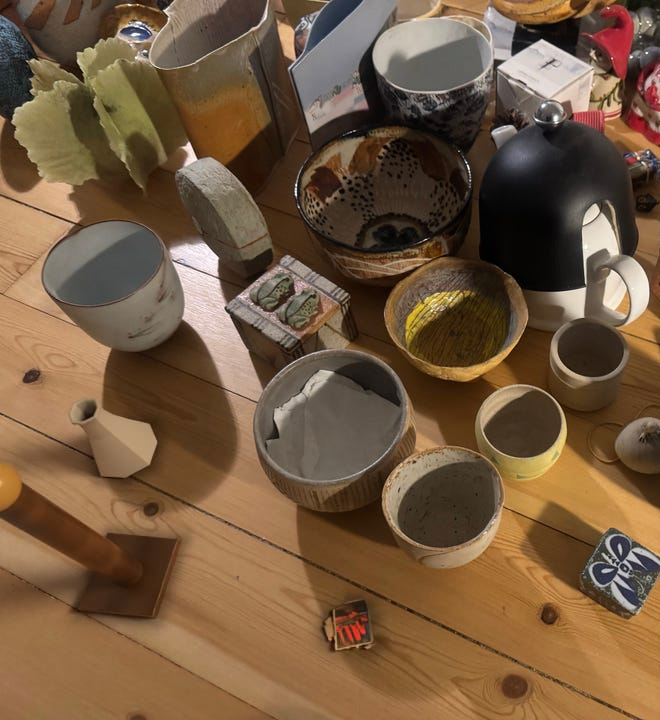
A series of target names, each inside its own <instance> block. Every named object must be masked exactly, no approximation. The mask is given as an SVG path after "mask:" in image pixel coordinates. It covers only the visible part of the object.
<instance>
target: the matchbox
mask: <svg viewBox="0 0 660 720" xmlns="http://www.w3.org/2000/svg"><path fill="white" fill-rule="evenodd" d="M370 611H371V610H370V609H369V606H368V604H367V602H366V600H365V598H359V599H354V600H349V601H347V602H344V603H342V604H341V605H339V606H337V607H336V608H334V609H332V616H329V617H328V618H327V619H326V620H325V621H324V623H325V625H323V627H324V630H325V633H326V637H327V638H328V641H330V642H331V641H332V640H333V639H334V649H335V651H341V650H344V649H345V650H346V649H348V650H349V649H350V648H356V649H359V647H360V646H362V645H365V646H364V649H366V650H368V649H371V648H372V647H374V646H375V645H377V643H376V642H374V643H373V641H374V635H373V632H372V631H373V628H372V623H371V622H372V618H371V612H370Z"/></svg>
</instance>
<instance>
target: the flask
mask: <svg viewBox="0 0 660 720" xmlns="http://www.w3.org/2000/svg"><path fill="white" fill-rule="evenodd" d="M67 415H68V417H69V420H70V422H71V424H72V425H75V426H79V427H80V428H81V429H82V430H83V431H84V433H85V434H86V436H87V438H88V440H89V443H90V447H91V451H92V456H93V458H94V462H95V463H96V466H97V469H98V471H99V474H100V477H109V478H123V479H125V478H127V477H130V476H131V475H133V474H135V473H138V472H139V471H141V470H143V469H144V468H146V467H148V466H150V465H151V462H152V459H153V456H154V454H155V450H156V447H157V445H158V440H157V438H156V436H155V433H154V431H153V429H152V426H151V424H150V423H147V422H143V421H139V420H134V419H130V418H126V417H123V416H119V415H117V414H113V413H111V412H109V411H107V410H105V409H104V408H102V406H101V405H100V402H99V400H98V398H96V397H83V398H80V399H78V400H76V401H75V402H73V403H72V404H71V407H70V409H69V410H68V414H67Z"/></svg>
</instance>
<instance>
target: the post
mask: <svg viewBox="0 0 660 720" xmlns="http://www.w3.org/2000/svg"><path fill="white" fill-rule="evenodd" d="M0 519H1V520H3V521H4V522H7V523H8V524H10V525H11V526H14V528H17V530H18V529H19V530H20V531H22V532H24V533H25V534H28V535H29V536H30V537H32V538H33V539H36V540H38V541H40V542H41V543H43V544H45V545H46V546H49V547H50V548H51V549H54V550H55V551H57V552H59V553H61V554H63V555H64V556H66V557H67V558H70V559H71V560H73V561H74V562H76V563H78V564H80V565H82V566H83V567H85V568H87V569H89V570H90V571H91V572H90V573H91V574H90V576H89V579H88V581H87V584H86V586H85V590H84V592H83V594H82V597H81V599H80V601H79V604H78V606H77V609H78V610H80V611H83V612H89V613H101V614H111V615H122V616H131V617H140V618H150V619H157V618H158V616H159V612H160V610H161V609H160V608H161V606H162V602H163V600H164V598H165V597H164V596H165V593H166V591H167V587H168V584H169V581H170V578H171V575H172V572H173V569H174V566H175V563H176V560H177V557H178V553H179V550H180V547H181V545H182V541H181V540H180V539H179V538H172V537H171V538H170V537H160V536H150V535H149V536H148V535H137V534H127V533H116V532H107V533H106V535H105V536H104V535H102V534H101V533H100V532H98V531H96V530H95V529H93V528H92V527H90V526H89V525H88V524H86V523H84V522H83V521H81V520H80V519H78V518H77V517H76V516H74V515H73V514H71V513H69V512H68V511H67V510H65V509H63V508H62V507H61V506H59V505H58V504H56V503H54V501H52V500H50V499H48V498H47V497H46V496H44V495H42V493H40V492H38V491H37V490H36V489H33V488H32V487H31V486H29V485H28V484H26V483H24V482H23V481H22V478H21V475H20V474H19V472H18V471H17V469H16V468H14V467H13V466H12V465H10V464H9V463H7V462H4V461H0Z"/></svg>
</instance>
